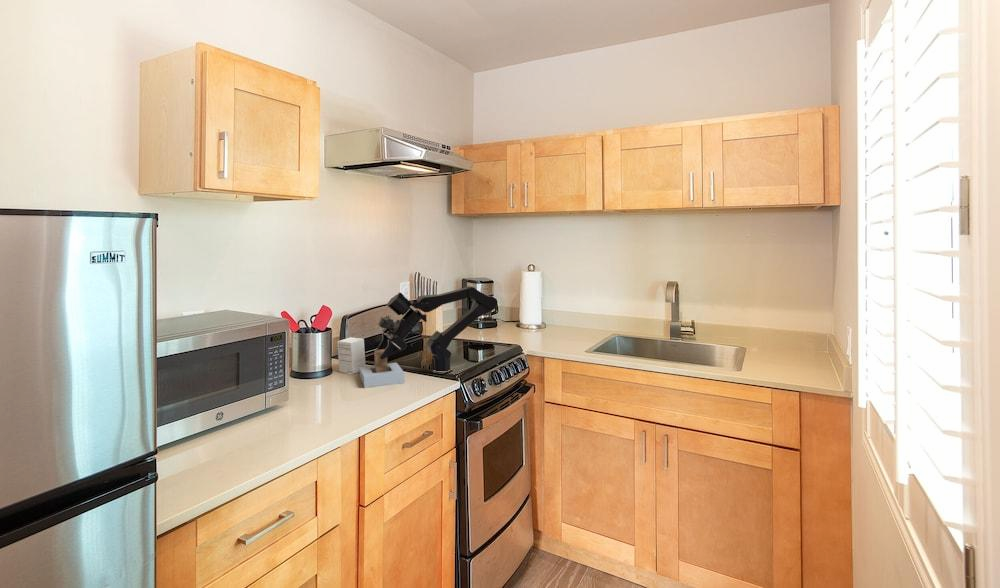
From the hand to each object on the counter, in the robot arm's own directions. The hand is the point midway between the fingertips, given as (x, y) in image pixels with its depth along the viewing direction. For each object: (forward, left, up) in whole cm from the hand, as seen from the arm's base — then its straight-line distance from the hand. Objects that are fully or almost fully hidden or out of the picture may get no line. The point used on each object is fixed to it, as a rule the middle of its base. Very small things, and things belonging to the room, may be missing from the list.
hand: (378, 355), depth 176 cm
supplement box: (+19, -3, -9) cm, 21 cm away
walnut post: (0, -1, -8) cm, 8 cm away
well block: (0, 0, -9) cm, 9 cm away
